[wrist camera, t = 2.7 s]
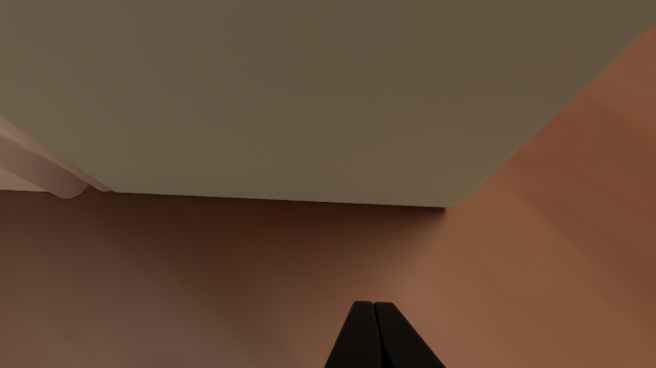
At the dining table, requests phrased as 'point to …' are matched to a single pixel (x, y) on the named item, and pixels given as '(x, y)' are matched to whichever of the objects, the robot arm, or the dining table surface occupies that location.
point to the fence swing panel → (299, 90)
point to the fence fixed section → (34, 170)
